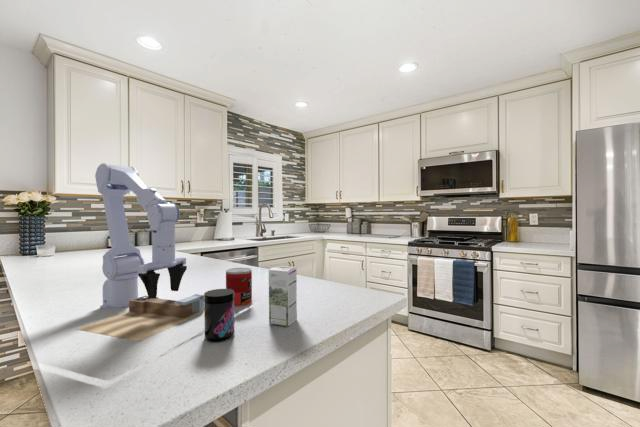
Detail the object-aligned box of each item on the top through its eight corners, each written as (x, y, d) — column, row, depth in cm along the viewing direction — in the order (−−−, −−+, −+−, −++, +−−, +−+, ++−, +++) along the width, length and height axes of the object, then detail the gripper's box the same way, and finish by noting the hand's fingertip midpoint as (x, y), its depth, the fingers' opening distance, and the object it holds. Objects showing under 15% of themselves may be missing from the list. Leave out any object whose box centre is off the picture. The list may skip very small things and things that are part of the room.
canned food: (245, 309, 90) (245, 272, 90) (221, 307, 91) (220, 271, 91) (256, 301, 97) (255, 267, 97) (233, 300, 99) (233, 267, 99)
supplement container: (207, 345, 66) (206, 298, 66) (202, 334, 71) (201, 291, 71) (238, 338, 69) (237, 293, 69) (230, 328, 75) (230, 287, 75)
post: (137, 310, 87) (137, 298, 87) (144, 308, 89) (143, 296, 89) (142, 311, 86) (142, 298, 86) (149, 309, 88) (149, 296, 88)
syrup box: (297, 319, 81) (297, 266, 81) (288, 327, 75) (287, 270, 75) (278, 317, 83) (278, 264, 83) (268, 325, 77) (267, 268, 77)
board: (75, 332, 73) (75, 328, 73) (156, 304, 95) (156, 301, 95) (139, 344, 66) (139, 341, 66) (210, 311, 88) (210, 308, 88)
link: (129, 311, 86) (129, 300, 86) (145, 306, 91) (145, 295, 90) (180, 319, 79) (179, 307, 79) (194, 313, 84) (194, 301, 84)
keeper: (176, 318, 80) (176, 301, 80) (196, 309, 87) (196, 294, 87) (185, 319, 79) (184, 302, 79) (204, 310, 86) (204, 295, 86)
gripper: (152, 250, 76) (152, 303, 76) (194, 243, 90) (194, 289, 90) (132, 248, 79) (132, 300, 79) (175, 242, 92) (175, 286, 92)
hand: (164, 294), depth 85 cm, fingers open, 7 cm apart
